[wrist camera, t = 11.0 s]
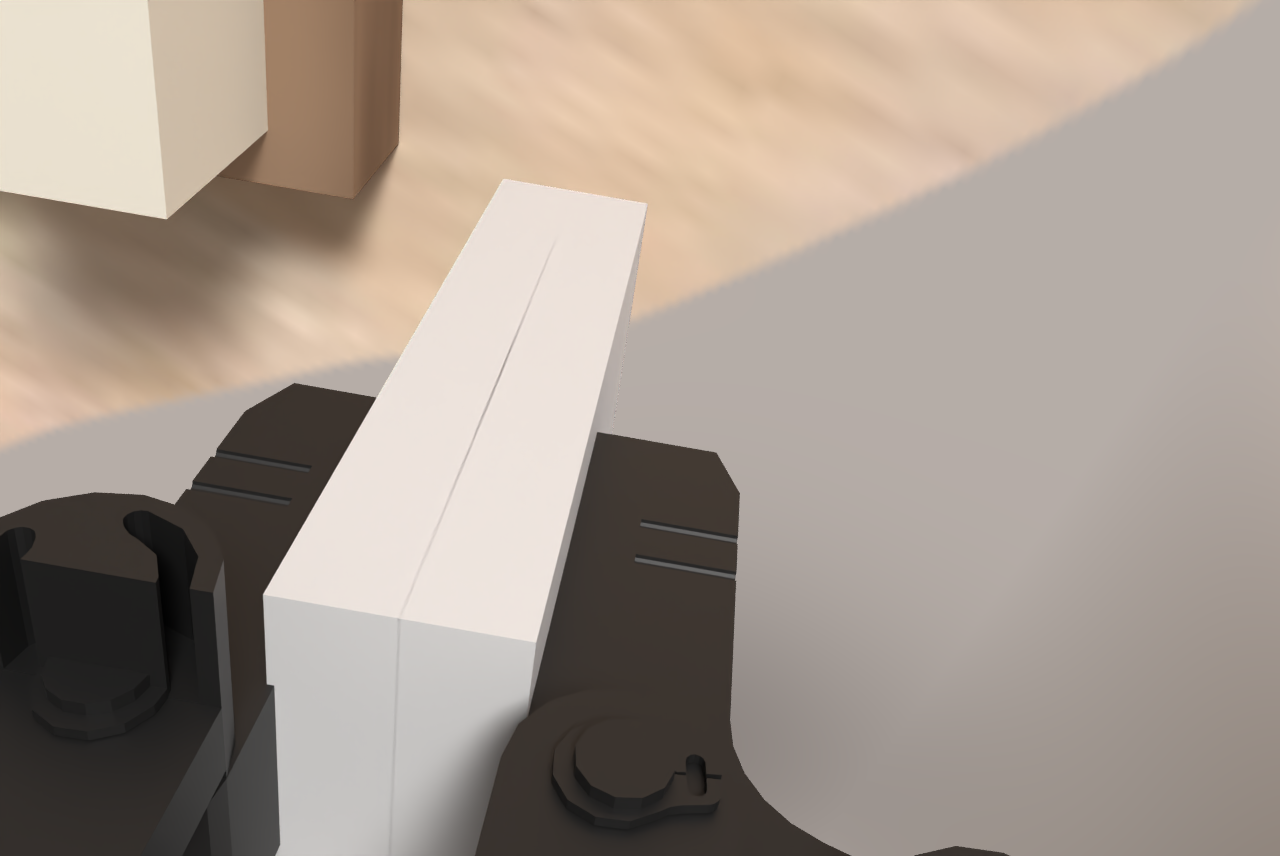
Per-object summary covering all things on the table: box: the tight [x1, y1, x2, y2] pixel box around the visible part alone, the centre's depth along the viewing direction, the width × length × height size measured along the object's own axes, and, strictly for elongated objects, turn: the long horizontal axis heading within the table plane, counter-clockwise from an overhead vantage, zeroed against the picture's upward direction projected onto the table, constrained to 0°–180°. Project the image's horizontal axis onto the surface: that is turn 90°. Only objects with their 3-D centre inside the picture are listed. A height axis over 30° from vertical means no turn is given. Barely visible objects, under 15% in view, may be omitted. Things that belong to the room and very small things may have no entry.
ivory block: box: [0, 0, 268, 219], centre depth 17 cm, size 4×4×4 cm
